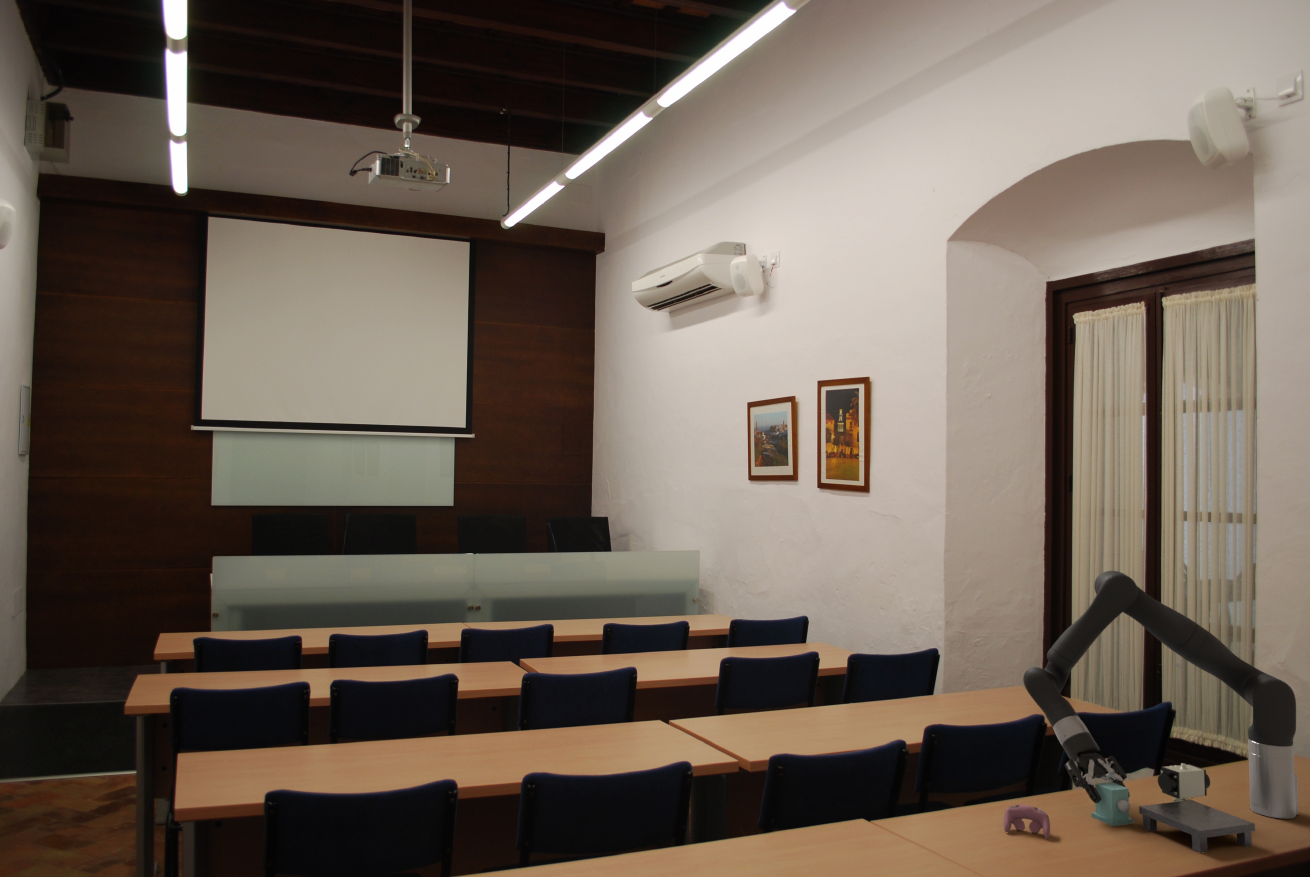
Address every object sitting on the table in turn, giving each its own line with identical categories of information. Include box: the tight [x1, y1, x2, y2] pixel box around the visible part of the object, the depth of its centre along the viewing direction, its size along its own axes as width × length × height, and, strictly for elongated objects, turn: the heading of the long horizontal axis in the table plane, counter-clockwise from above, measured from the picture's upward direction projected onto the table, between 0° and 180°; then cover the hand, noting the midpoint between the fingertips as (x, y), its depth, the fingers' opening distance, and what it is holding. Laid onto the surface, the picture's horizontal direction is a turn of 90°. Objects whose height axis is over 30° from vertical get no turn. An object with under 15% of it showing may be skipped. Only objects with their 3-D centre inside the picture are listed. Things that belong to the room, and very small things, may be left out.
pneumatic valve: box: [1157, 762, 1211, 802], centre depth 217 cm, size 6×12×12 cm, turn 106°
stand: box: [1138, 799, 1256, 854], centre depth 201 cm, size 16×16×5 cm
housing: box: [1090, 781, 1135, 827], centre depth 211 cm, size 6×7×8 cm
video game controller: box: [1003, 804, 1051, 840], centre depth 203 cm, size 10×5×7 cm, turn 65°
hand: (1112, 800), depth 211 cm, fingers open, 8 cm apart
